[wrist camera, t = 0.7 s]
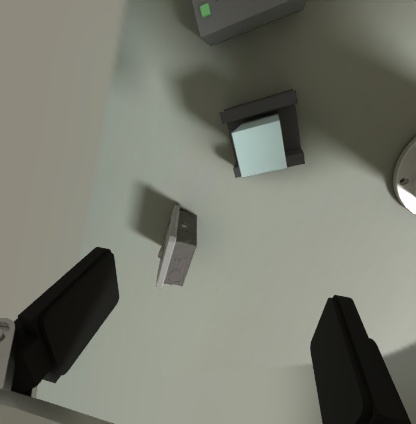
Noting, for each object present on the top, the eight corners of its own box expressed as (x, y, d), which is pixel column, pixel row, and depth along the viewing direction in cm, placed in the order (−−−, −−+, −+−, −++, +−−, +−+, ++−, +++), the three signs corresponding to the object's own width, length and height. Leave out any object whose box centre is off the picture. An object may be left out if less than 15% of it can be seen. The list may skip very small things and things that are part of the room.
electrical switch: (175, 201, 38) (156, 233, 30) (207, 212, 38) (196, 246, 30) (163, 247, 42) (143, 285, 34) (191, 256, 42) (178, 297, 34)
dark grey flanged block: (292, 89, 28) (295, 88, 24) (301, 157, 31) (305, 165, 27) (225, 109, 30) (219, 111, 27) (239, 170, 33) (235, 179, 30)
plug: (277, 112, 28) (280, 119, 19) (283, 147, 30) (287, 168, 21) (243, 121, 30) (230, 132, 21) (250, 154, 31) (241, 177, 22)
